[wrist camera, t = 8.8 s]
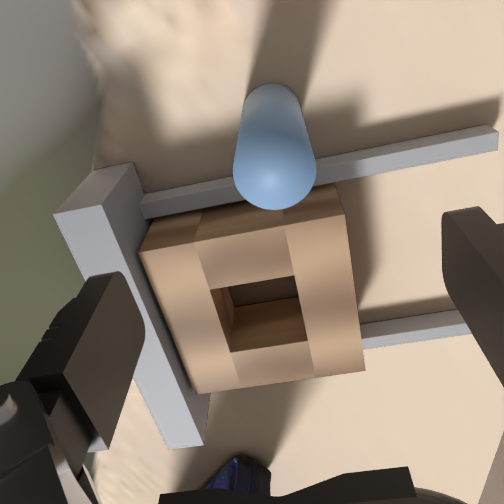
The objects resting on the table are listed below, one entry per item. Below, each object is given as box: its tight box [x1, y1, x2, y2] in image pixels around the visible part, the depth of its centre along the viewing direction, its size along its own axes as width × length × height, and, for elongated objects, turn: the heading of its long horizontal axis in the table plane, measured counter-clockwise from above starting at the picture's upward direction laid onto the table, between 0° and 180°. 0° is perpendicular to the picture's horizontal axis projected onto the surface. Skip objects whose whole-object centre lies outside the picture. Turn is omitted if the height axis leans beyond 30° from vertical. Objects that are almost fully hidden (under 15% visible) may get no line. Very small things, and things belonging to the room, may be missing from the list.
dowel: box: [233, 83, 316, 210], centre depth 21 cm, size 3×3×9 cm
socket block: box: [138, 182, 366, 394], centre depth 28 cm, size 11×11×4 cm
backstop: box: [53, 124, 499, 450], centre depth 28 cm, size 18×22×6 cm
